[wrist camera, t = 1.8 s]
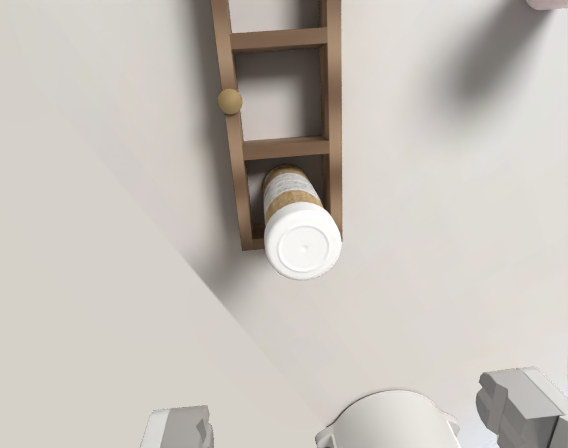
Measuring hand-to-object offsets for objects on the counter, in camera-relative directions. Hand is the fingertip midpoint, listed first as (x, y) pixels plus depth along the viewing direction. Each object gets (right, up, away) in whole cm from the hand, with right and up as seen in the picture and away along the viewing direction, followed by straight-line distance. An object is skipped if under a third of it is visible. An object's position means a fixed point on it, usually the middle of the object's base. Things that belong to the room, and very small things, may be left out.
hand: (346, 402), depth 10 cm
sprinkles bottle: (-2, +9, +22) cm, 24 cm away
